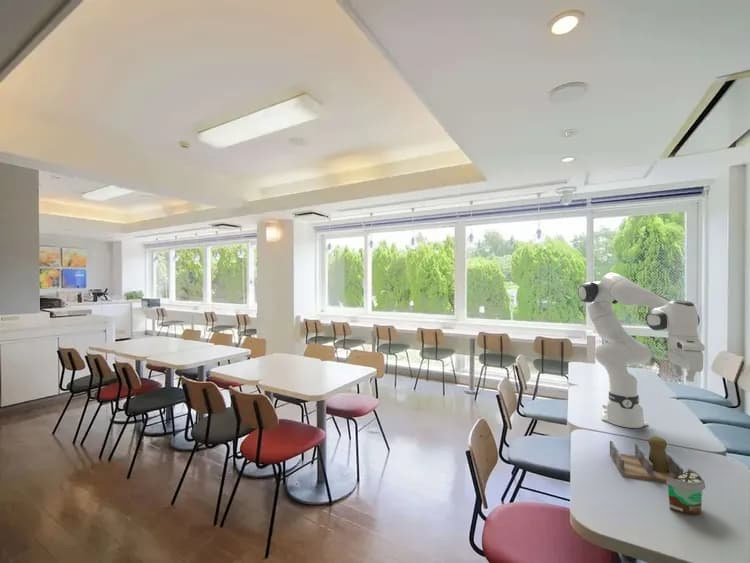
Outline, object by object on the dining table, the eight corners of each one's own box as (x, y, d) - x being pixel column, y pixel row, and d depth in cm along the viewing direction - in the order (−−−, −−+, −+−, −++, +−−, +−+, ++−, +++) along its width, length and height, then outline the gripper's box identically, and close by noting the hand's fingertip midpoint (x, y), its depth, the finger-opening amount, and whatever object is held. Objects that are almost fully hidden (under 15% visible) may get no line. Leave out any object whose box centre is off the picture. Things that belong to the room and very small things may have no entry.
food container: (692, 523, 98) (691, 487, 98) (667, 510, 103) (666, 476, 103) (715, 511, 102) (714, 477, 103) (689, 499, 108) (688, 467, 108)
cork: (673, 473, 121) (672, 442, 121) (653, 472, 122) (652, 440, 122) (662, 464, 126) (661, 434, 127) (644, 463, 128) (643, 433, 128)
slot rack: (609, 455, 137) (609, 440, 137) (664, 462, 130) (663, 447, 130) (621, 476, 122) (621, 459, 122) (683, 486, 115) (683, 468, 115)
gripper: (662, 338, 145) (663, 371, 144) (685, 346, 126) (686, 384, 125) (681, 338, 142) (682, 372, 142) (707, 347, 123) (708, 385, 123)
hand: (684, 378), depth 134 cm, fingers open, 8 cm apart
